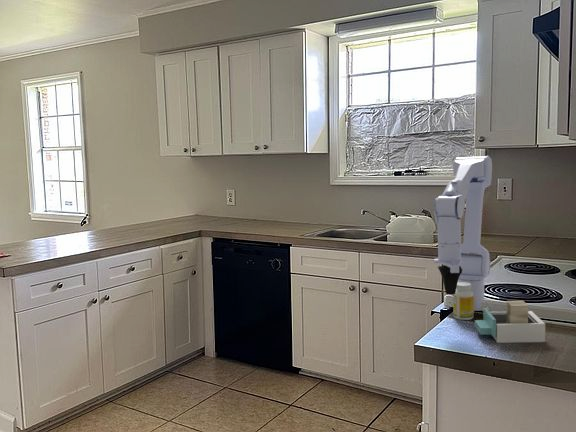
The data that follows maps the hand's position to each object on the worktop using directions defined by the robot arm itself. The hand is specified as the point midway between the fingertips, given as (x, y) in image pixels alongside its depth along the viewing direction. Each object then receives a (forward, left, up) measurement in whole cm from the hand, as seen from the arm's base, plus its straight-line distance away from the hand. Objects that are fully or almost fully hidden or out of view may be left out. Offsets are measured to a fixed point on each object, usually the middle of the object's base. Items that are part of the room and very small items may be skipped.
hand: (450, 293), depth 140 cm
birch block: (+6, +15, -7) cm, 18 cm away
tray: (+5, +12, -8) cm, 15 cm away
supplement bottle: (-9, +5, -10) cm, 14 cm away
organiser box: (+6, +15, -9) cm, 18 cm away
